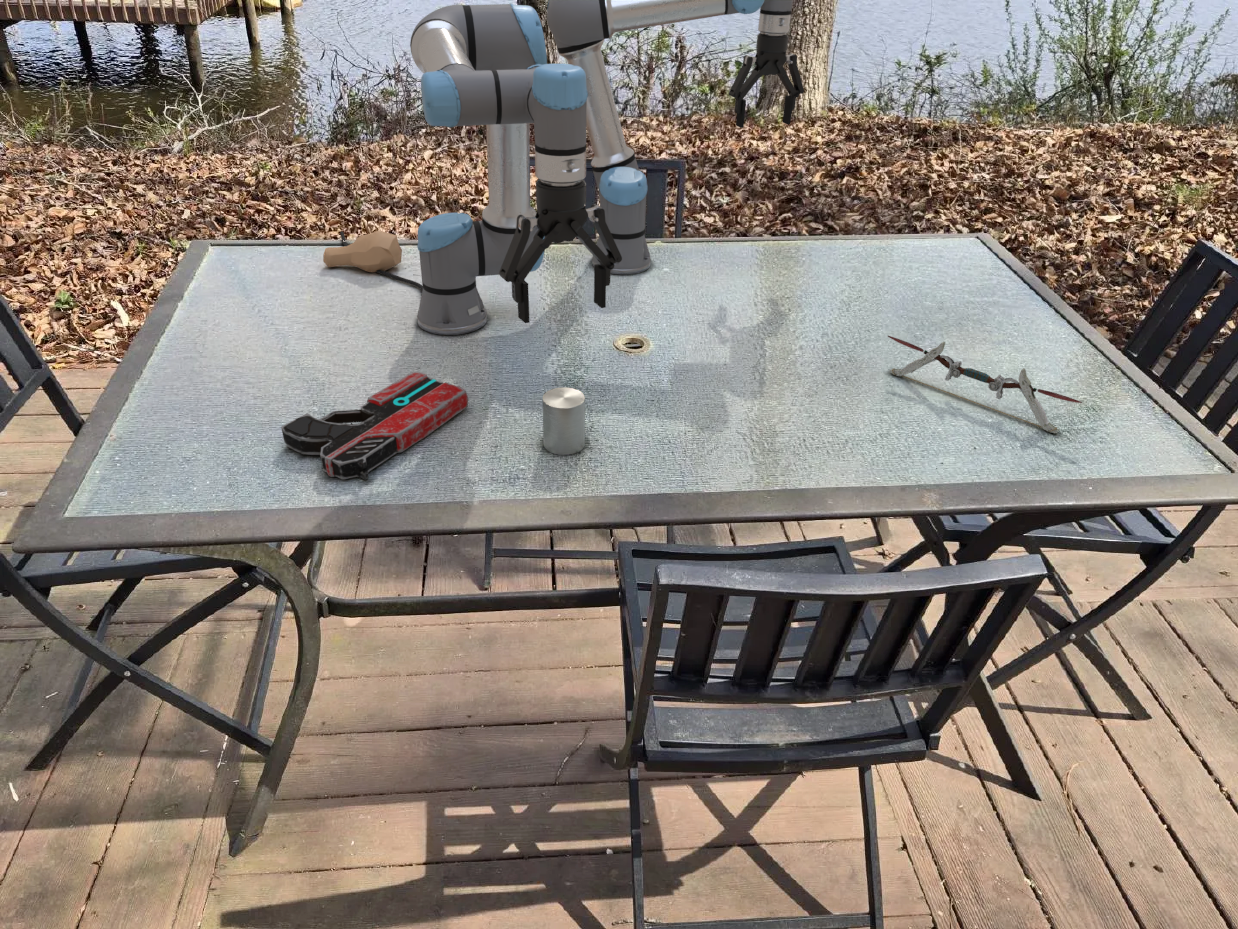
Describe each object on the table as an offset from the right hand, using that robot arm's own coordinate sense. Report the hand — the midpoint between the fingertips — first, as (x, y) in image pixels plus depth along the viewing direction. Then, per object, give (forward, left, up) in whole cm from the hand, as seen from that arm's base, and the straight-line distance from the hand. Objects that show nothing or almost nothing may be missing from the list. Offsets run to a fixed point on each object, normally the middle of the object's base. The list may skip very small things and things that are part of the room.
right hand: (763, 124), depth 224 cm
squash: (-16, -102, -32) cm, 108 cm away
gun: (+64, -110, -32) cm, 132 cm away
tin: (+79, -80, -32) cm, 117 cm away
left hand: (+79, -80, -7) cm, 113 cm away
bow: (+91, -1, -32) cm, 96 cm away
